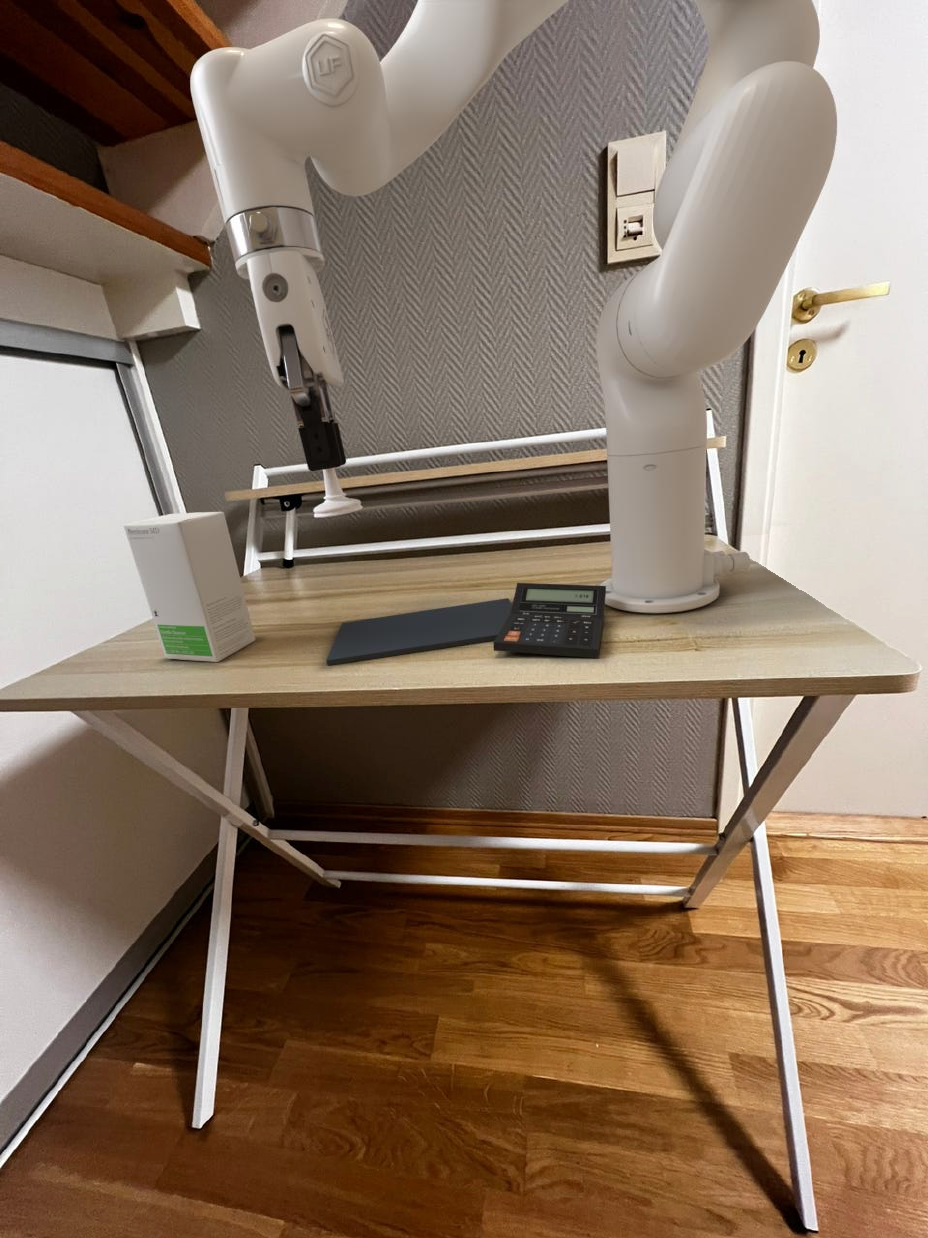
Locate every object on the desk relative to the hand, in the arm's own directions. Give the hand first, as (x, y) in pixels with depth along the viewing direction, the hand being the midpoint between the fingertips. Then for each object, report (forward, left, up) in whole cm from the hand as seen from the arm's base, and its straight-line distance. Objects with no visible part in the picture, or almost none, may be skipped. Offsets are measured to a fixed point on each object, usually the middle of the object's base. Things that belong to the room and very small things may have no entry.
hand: (328, 466), depth 53 cm
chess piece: (0, 0, -5) cm, 5 cm away
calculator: (-20, +6, -18) cm, 28 cm away
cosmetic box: (+18, -4, -19) cm, 26 cm away
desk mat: (-7, 0, -19) cm, 20 cm away
